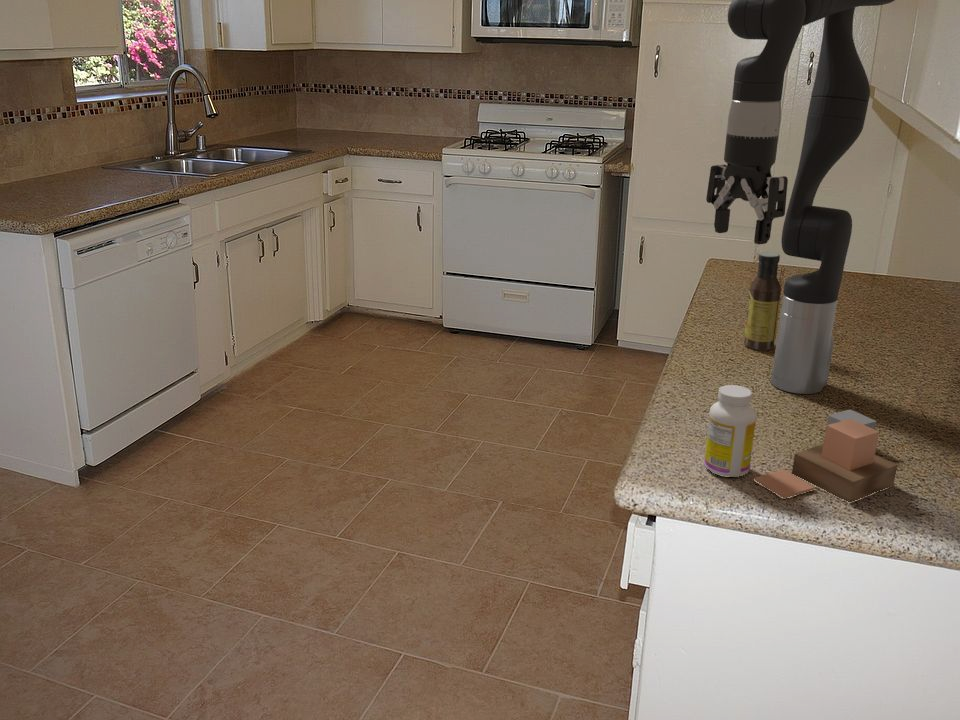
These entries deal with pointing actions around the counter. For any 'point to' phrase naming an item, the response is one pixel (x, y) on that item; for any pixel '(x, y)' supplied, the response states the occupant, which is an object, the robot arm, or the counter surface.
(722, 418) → the supplement bottle
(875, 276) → the counter surface
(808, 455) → the walnut block
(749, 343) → the sauce bottle
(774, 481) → the tile
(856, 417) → the grey block
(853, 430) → the terracotta block
